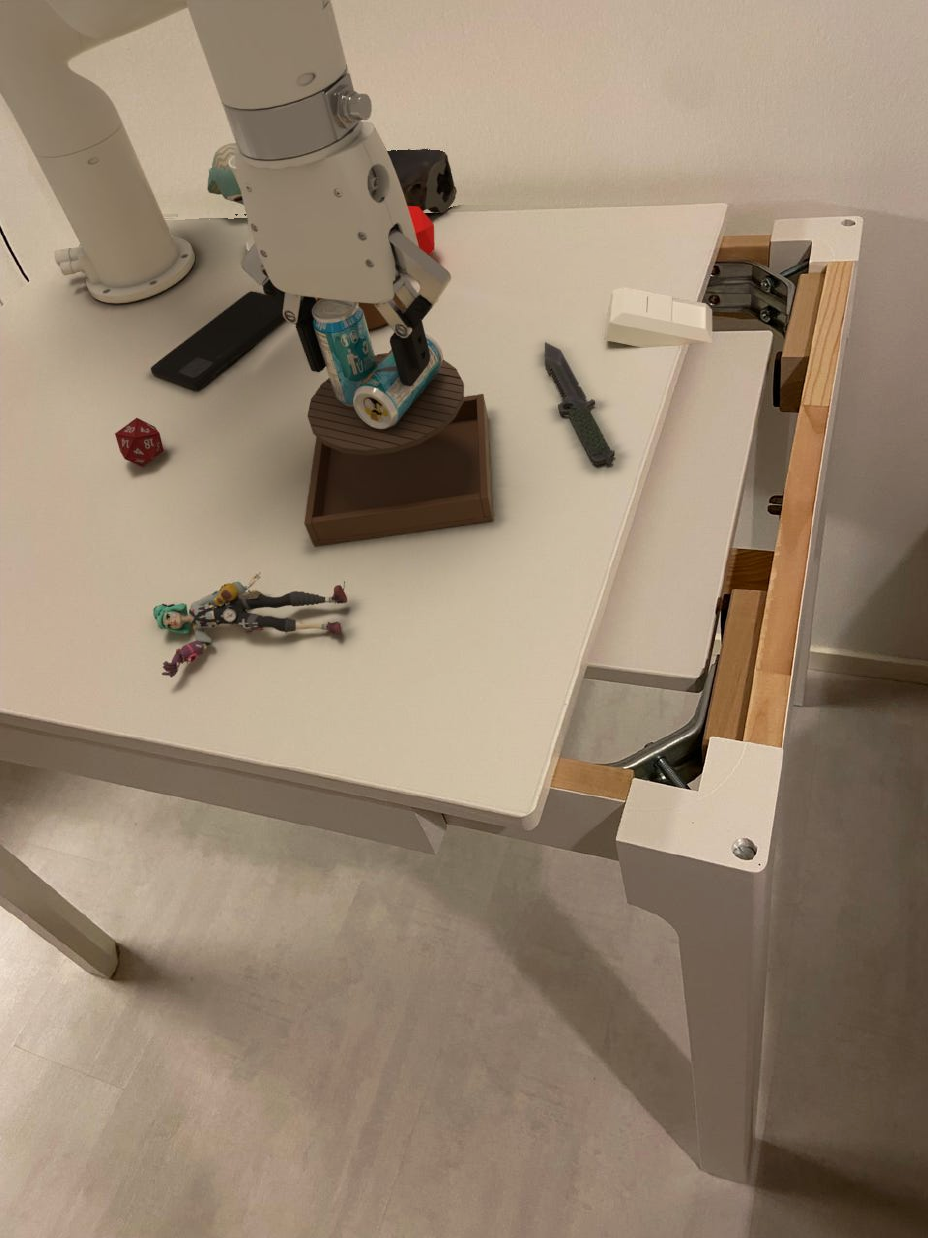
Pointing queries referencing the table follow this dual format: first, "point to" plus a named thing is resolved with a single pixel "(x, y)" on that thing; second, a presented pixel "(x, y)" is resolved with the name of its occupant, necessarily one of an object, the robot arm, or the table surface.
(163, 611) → the figurine
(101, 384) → the table surface
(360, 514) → the tray
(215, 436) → the table surface
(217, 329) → the smartphone
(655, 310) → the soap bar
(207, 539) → the table surface
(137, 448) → the dice
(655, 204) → the table surface
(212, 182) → the stuffed animal
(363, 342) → the blue cans and disc
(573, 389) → the knife
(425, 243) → the red faceted polyhedron
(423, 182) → the sculpture
